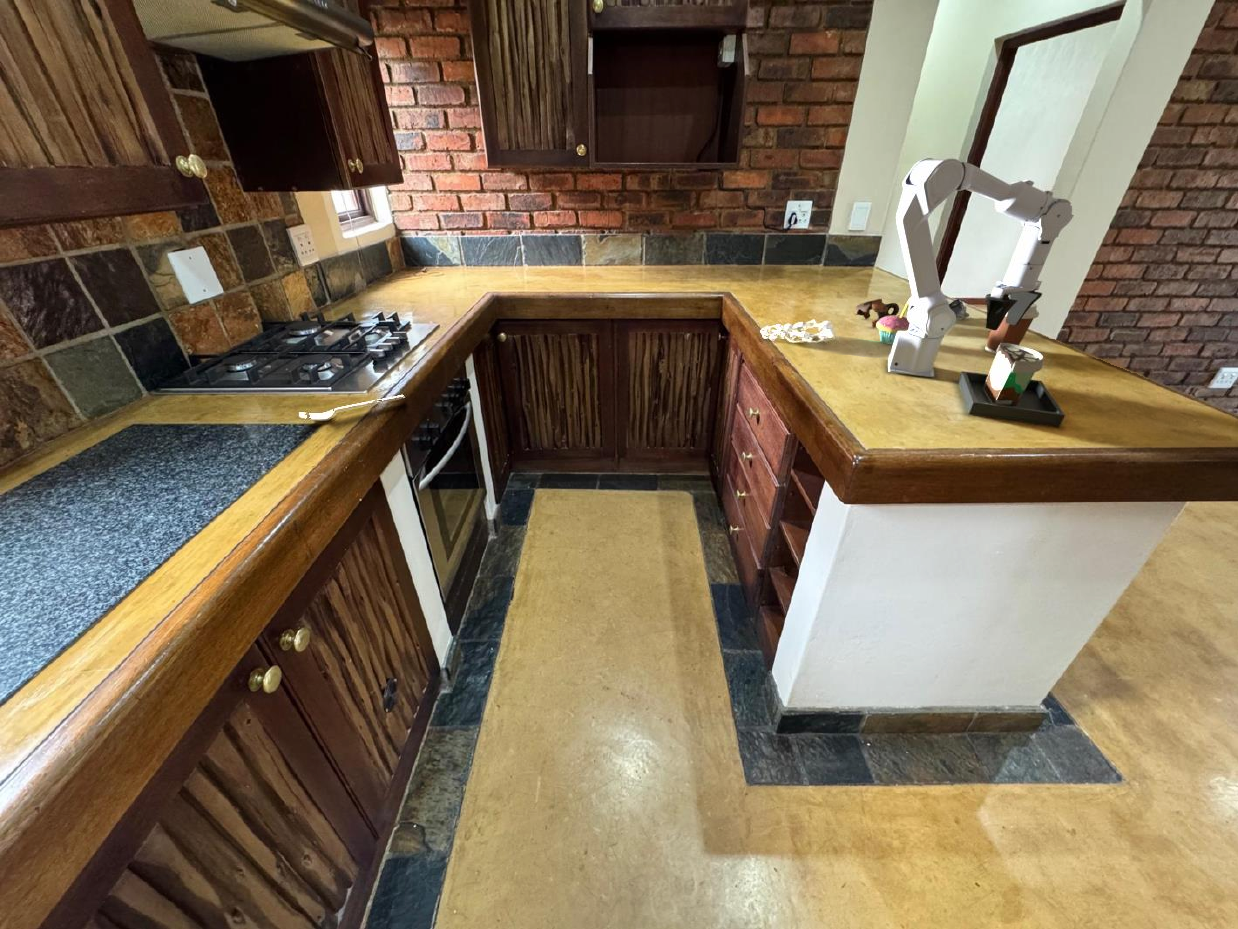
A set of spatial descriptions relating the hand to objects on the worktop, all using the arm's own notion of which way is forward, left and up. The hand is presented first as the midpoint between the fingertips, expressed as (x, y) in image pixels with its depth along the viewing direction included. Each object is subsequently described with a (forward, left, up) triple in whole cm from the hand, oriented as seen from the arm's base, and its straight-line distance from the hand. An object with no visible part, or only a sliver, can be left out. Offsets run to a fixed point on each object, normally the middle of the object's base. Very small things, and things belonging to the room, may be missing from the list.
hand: (1001, 326), depth 110 cm
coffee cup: (+6, +17, -11) cm, 21 cm away
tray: (+1, -19, -10) cm, 22 cm away
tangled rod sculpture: (-43, +7, -11) cm, 45 cm away
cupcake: (-20, +14, -11) cm, 27 cm away
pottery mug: (-24, +31, -11) cm, 41 cm away
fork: (-123, -74, -11) cm, 144 cm away
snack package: (-3, +44, -11) cm, 45 cm away
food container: (+1, -19, -10) cm, 21 cm away
